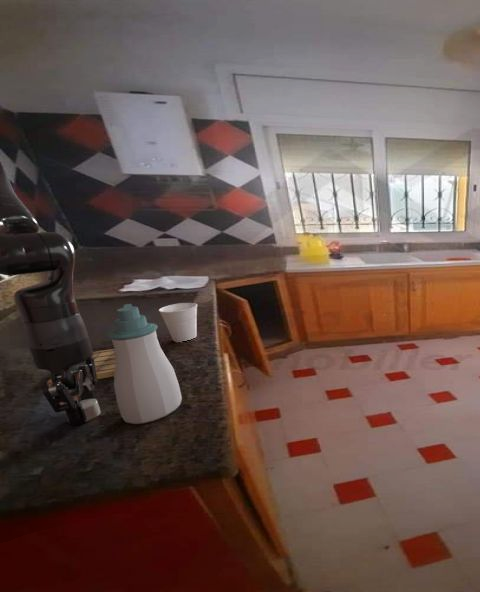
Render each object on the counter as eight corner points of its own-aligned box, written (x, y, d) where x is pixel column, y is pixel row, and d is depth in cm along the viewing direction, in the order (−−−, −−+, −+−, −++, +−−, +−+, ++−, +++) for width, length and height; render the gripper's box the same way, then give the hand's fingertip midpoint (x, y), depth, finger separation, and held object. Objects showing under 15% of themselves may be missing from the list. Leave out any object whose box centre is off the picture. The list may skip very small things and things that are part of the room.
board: (48, 388, 75) (46, 381, 74) (81, 358, 89) (79, 353, 89) (140, 371, 82) (139, 366, 82) (157, 347, 97) (156, 342, 96)
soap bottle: (179, 392, 73) (158, 298, 67) (185, 412, 66) (162, 309, 60) (122, 409, 67) (93, 308, 61) (122, 433, 60) (88, 321, 54)
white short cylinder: (63, 426, 62) (59, 414, 61) (75, 413, 66) (71, 402, 65) (95, 420, 64) (91, 408, 63) (104, 407, 68) (101, 396, 67)
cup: (171, 335, 105) (164, 304, 102) (206, 331, 109) (200, 301, 106) (161, 347, 97) (153, 313, 94) (199, 342, 100) (193, 309, 97)
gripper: (51, 329, 64) (76, 402, 69) (5, 358, 52) (38, 444, 57) (101, 324, 68) (121, 393, 72) (68, 349, 56) (94, 431, 60)
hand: (84, 415), depth 65 cm, fingers closed on white short cylinder, 4 cm apart
